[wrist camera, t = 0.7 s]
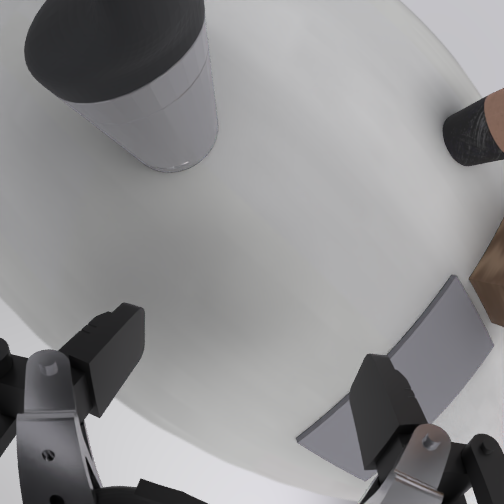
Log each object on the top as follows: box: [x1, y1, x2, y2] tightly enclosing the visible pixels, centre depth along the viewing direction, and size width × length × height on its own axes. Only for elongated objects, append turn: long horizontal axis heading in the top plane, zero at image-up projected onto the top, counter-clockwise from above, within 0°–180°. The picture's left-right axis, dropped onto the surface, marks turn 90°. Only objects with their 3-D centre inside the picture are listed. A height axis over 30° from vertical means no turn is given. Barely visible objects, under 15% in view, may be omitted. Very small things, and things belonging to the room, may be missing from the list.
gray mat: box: [296, 275, 494, 481], centre depth 31 cm, size 28×16×1 cm, turn 135°
